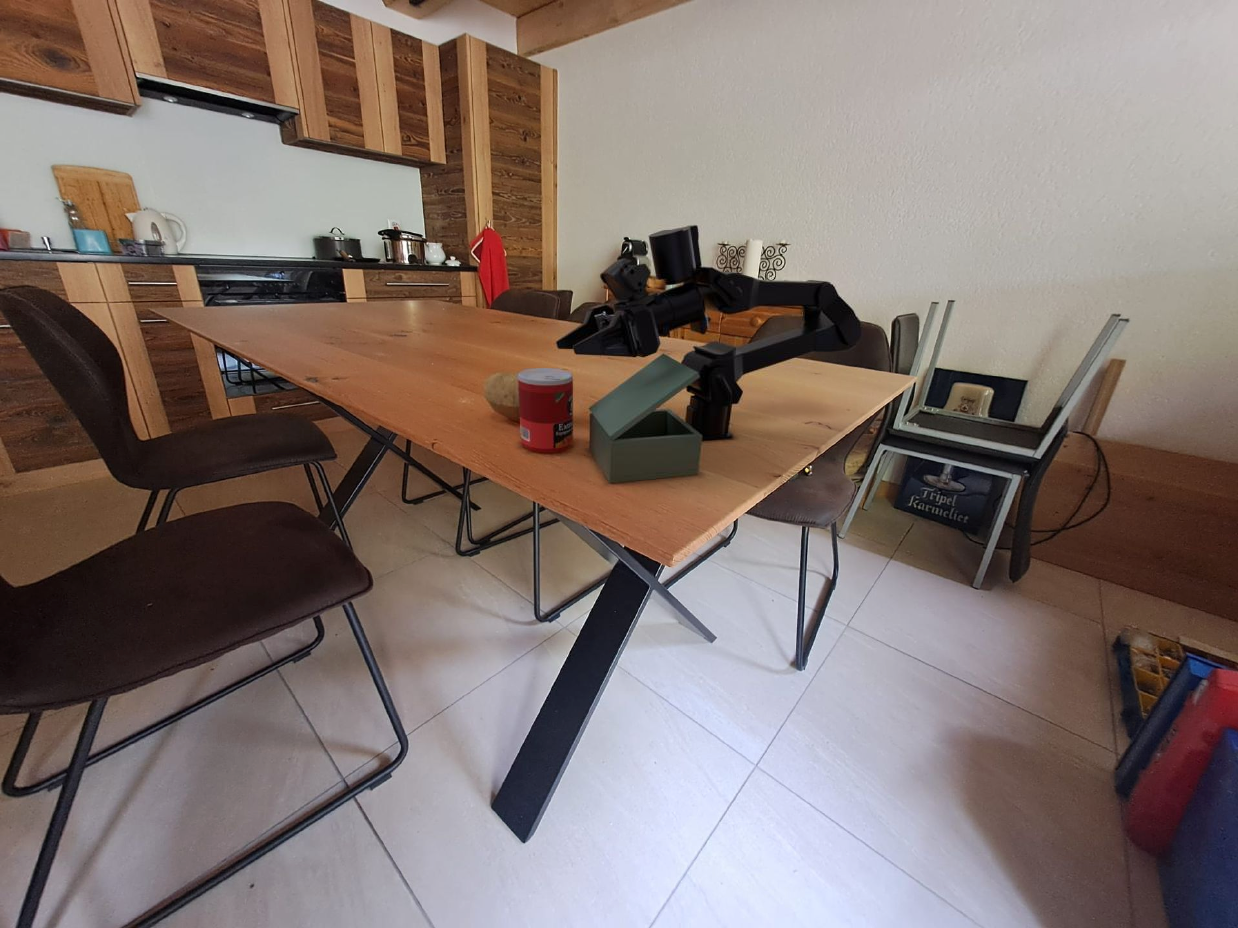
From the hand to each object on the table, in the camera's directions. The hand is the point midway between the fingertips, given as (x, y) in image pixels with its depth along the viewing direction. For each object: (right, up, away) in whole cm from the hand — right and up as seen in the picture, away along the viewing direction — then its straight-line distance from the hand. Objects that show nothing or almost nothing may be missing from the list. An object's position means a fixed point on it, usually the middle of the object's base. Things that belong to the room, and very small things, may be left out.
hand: (564, 347), depth 64 cm
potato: (-9, -8, +18) cm, 22 cm away
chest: (+11, -16, +3) cm, 19 cm away
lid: (+10, -7, -1) cm, 12 cm away
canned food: (-4, -13, +8) cm, 16 cm away
